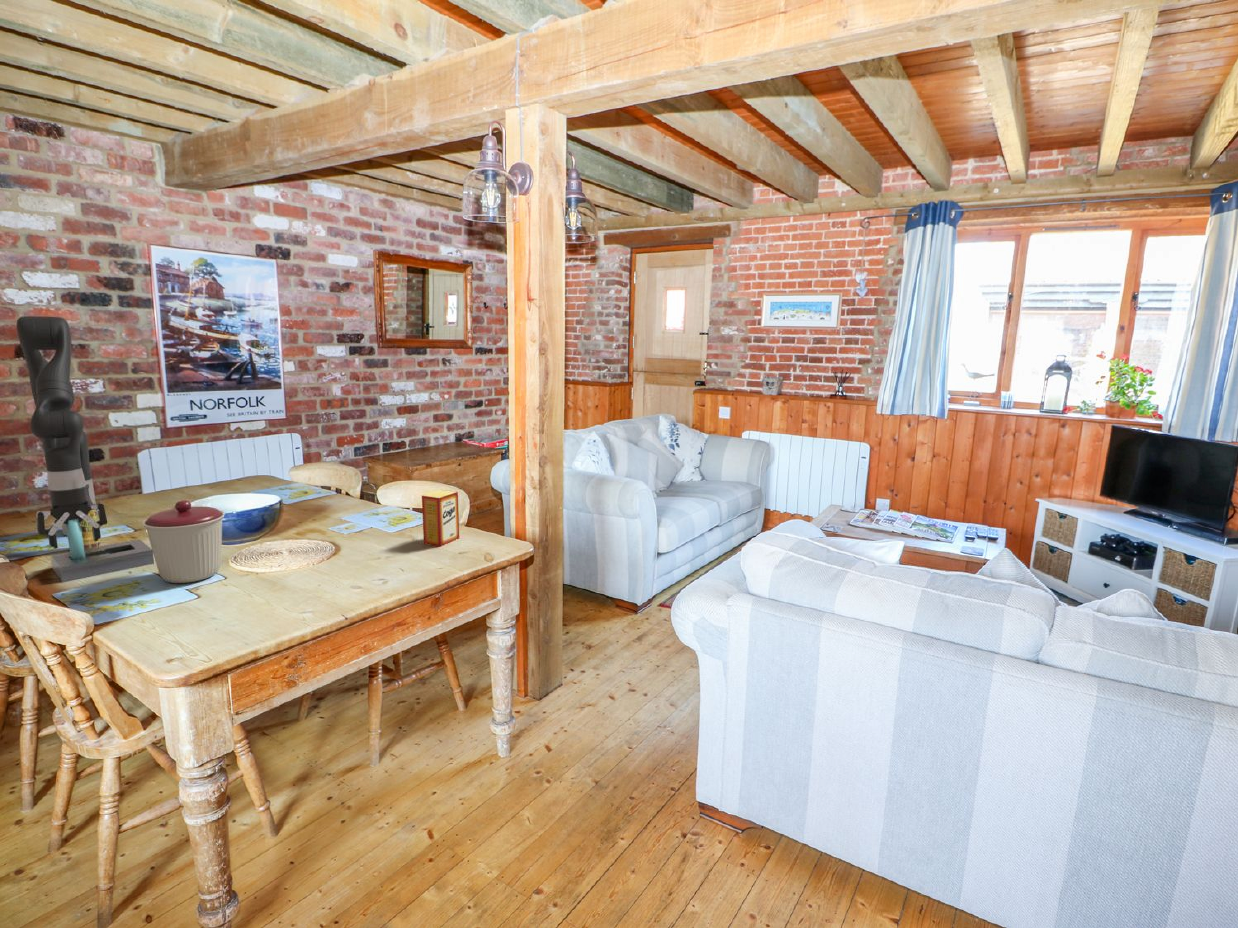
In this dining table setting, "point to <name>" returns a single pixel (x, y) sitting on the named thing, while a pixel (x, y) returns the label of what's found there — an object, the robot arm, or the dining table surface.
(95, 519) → the sauce bottle
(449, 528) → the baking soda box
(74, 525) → the peg
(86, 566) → the grey slotted block
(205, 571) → the canister
